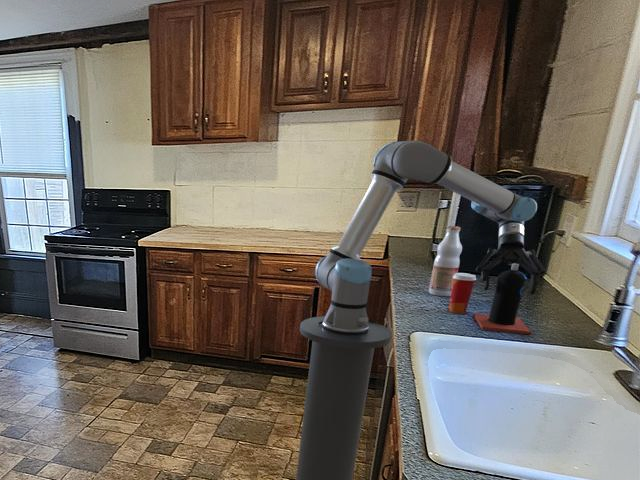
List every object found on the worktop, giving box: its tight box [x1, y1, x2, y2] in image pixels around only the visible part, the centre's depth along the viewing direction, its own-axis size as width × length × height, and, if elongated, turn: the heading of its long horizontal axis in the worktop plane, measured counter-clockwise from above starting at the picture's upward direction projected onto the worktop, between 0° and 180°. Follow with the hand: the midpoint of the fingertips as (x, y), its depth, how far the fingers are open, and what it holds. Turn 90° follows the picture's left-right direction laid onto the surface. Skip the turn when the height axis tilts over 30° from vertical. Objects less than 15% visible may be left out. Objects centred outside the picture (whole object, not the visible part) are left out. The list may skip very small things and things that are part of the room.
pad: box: [473, 313, 532, 336], centre depth 182 cm, size 14×18×1 cm
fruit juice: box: [428, 225, 463, 297], centre depth 219 cm, size 9×9×28 cm
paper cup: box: [448, 272, 477, 315], centre depth 195 cm, size 8×8×14 cm
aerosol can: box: [488, 263, 528, 325], centre depth 178 cm, size 8×8×20 cm
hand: (509, 290), depth 177 cm, fingers open, 13 cm apart
